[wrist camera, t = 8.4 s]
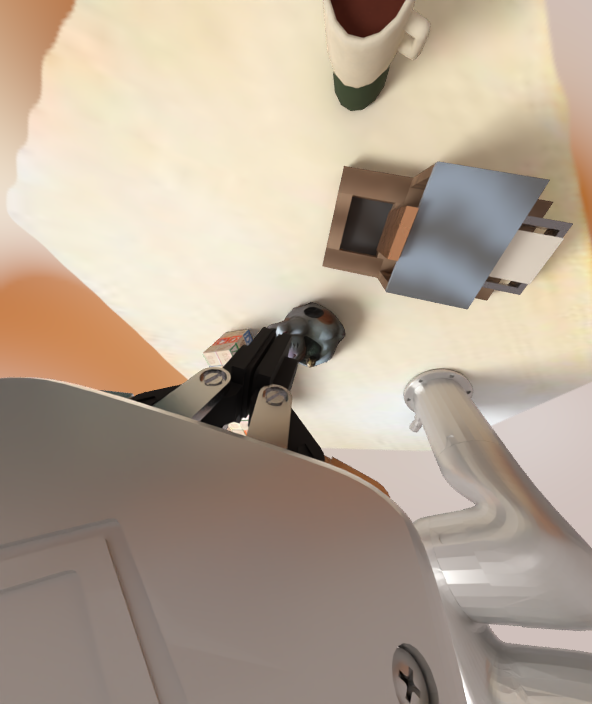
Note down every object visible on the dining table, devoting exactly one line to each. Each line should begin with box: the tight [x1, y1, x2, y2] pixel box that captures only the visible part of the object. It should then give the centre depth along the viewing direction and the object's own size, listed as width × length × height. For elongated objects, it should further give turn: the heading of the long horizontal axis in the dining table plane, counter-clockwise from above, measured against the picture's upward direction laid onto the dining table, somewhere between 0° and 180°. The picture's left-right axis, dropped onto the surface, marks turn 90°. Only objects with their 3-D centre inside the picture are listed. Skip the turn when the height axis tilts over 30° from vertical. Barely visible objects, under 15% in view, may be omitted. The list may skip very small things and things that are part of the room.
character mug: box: [323, 0, 430, 111], centre depth 20 cm, size 11×7×13 cm, turn 64°
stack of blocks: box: [203, 329, 252, 436], centre depth 47 cm, size 21×6×12 cm, turn 13°
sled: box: [377, 206, 573, 295], centre depth 26 cm, size 9×20×9 cm, turn 81°
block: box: [489, 230, 564, 284], centre depth 27 cm, size 5×5×6 cm
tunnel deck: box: [323, 162, 553, 309], centre depth 28 cm, size 13×26×11 cm, turn 81°
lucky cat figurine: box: [267, 302, 345, 367], centre depth 39 cm, size 15×12×14 cm
